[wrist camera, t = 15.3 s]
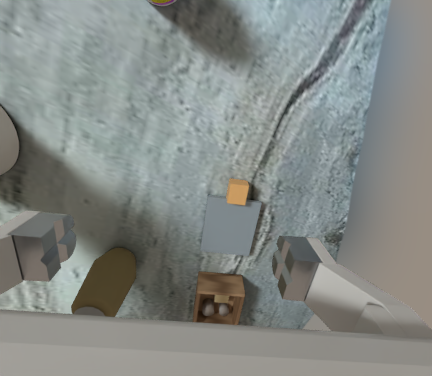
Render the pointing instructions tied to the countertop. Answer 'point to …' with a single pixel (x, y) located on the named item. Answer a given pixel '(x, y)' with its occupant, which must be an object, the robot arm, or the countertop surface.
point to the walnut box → (218, 298)
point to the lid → (230, 221)
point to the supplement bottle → (161, 2)
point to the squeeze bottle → (106, 284)
